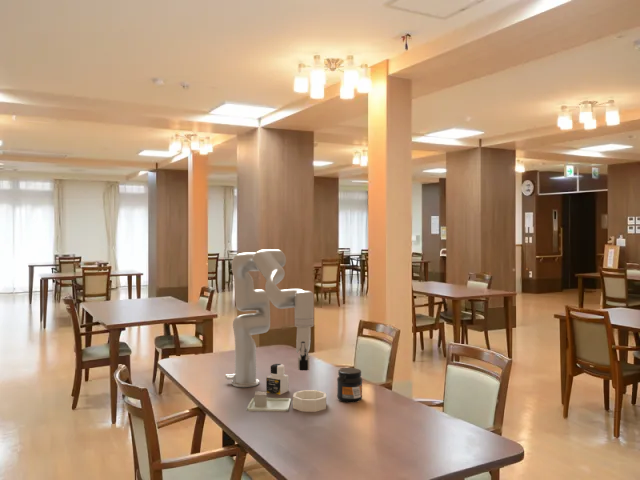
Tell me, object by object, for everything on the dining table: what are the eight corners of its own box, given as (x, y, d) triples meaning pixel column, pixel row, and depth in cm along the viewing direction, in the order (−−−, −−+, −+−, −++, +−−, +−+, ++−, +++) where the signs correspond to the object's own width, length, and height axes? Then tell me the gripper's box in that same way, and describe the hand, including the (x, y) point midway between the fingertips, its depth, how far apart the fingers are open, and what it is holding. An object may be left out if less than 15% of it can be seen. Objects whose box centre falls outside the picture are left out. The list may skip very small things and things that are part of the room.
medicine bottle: (266, 393, 235) (266, 365, 235) (274, 389, 241) (275, 362, 241) (280, 395, 231) (280, 367, 231) (288, 391, 238) (289, 363, 238)
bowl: (291, 412, 210) (292, 399, 210) (294, 401, 223) (294, 389, 223) (325, 412, 210) (325, 400, 210) (326, 402, 223) (326, 390, 223)
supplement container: (360, 404, 221) (360, 374, 221) (334, 402, 223) (335, 373, 223) (363, 396, 231) (364, 368, 231) (339, 394, 233) (339, 366, 233)
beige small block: (254, 406, 216) (254, 394, 216) (256, 403, 219) (256, 391, 219) (265, 406, 216) (265, 394, 215) (266, 403, 219) (266, 391, 219)
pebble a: (298, 369, 213) (298, 357, 213) (298, 367, 217) (298, 355, 217) (309, 370, 213) (309, 357, 213) (309, 367, 217) (309, 355, 217)
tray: (246, 411, 211) (246, 408, 211) (252, 400, 225) (252, 397, 225) (287, 412, 210) (287, 409, 210) (291, 401, 224) (291, 398, 224)
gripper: (296, 319, 223) (296, 363, 223) (292, 325, 207) (292, 374, 207) (314, 319, 223) (314, 364, 223) (312, 325, 206) (312, 374, 206)
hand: (304, 368), depth 215 cm, fingers closed on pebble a, 3 cm apart
